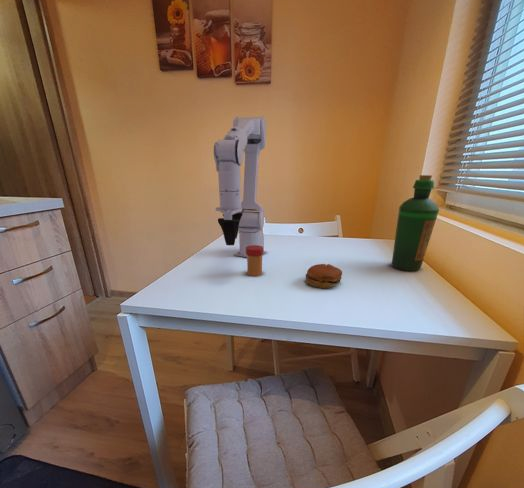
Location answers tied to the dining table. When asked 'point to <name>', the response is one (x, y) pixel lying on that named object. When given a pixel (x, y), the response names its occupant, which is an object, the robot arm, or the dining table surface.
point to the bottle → (415, 226)
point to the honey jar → (254, 265)
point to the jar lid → (254, 250)
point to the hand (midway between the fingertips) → (231, 241)
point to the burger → (323, 276)
